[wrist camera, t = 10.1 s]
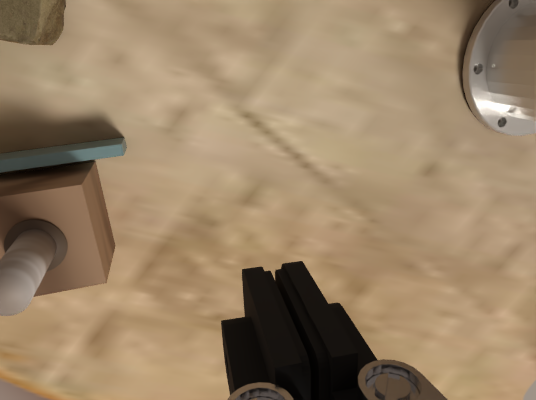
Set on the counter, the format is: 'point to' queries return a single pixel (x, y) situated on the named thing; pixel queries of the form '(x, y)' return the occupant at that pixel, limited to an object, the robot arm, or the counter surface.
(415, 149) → the counter surface
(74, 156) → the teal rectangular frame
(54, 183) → the block with knob
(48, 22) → the stone block
